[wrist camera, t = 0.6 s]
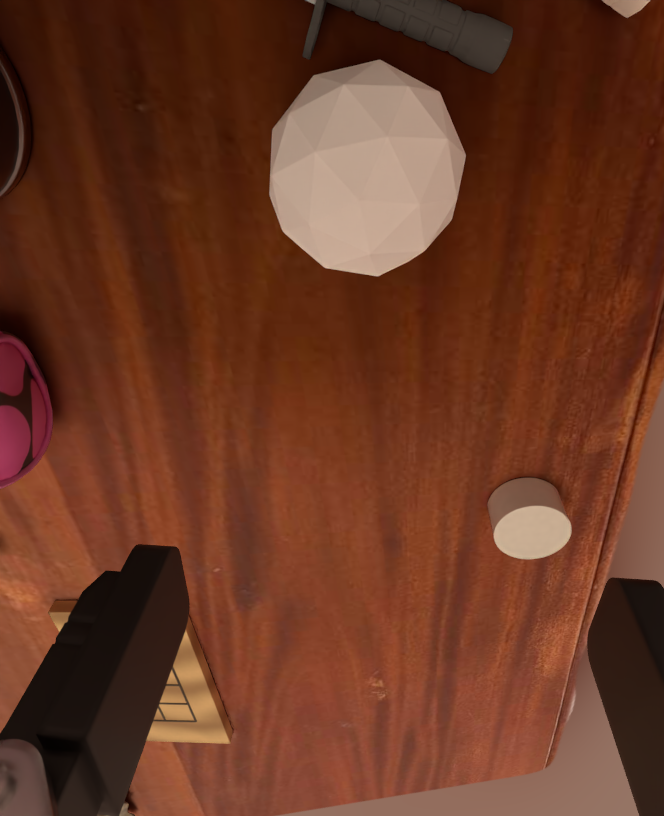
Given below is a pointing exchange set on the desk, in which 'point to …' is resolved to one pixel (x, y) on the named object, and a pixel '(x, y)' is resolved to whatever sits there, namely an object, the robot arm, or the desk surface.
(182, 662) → the game board
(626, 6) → the pepper shaker
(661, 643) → the robot arm
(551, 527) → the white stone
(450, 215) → the geometric ball
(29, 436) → the pencil case
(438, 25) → the knife
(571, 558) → the desk surface
